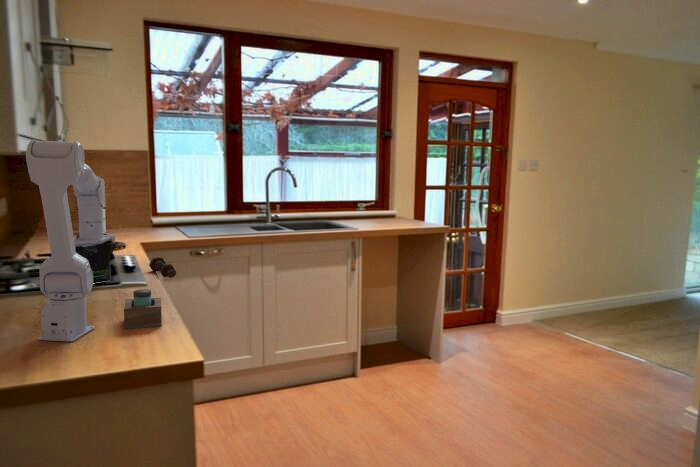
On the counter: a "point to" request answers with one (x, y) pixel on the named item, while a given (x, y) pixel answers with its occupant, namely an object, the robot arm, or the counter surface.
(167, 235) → the counter surface
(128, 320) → the socket
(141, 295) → the peg
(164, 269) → the dark dumbbell
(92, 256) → the storage jar
